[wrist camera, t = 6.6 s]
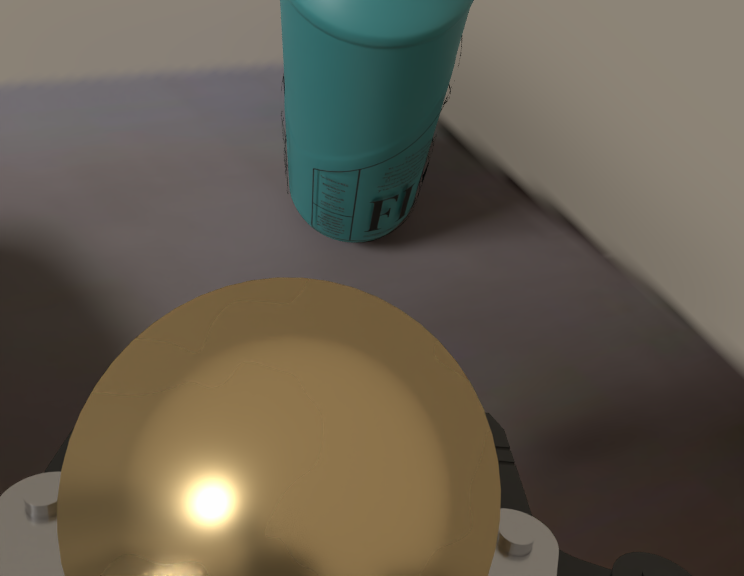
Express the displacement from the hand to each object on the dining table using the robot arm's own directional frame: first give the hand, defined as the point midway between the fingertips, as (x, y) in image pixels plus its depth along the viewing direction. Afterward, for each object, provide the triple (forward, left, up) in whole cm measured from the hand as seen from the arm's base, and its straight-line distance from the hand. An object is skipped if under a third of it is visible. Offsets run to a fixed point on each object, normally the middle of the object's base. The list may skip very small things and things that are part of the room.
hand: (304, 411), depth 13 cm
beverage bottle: (+8, +12, -17) cm, 22 cm away
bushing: (-1, -2, -5) cm, 6 cm away
